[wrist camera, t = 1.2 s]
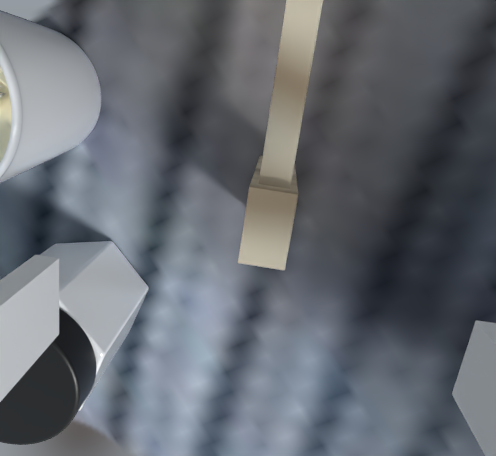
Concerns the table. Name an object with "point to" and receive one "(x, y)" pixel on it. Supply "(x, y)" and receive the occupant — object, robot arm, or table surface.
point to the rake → (281, 143)
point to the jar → (75, 340)
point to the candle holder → (42, 95)
